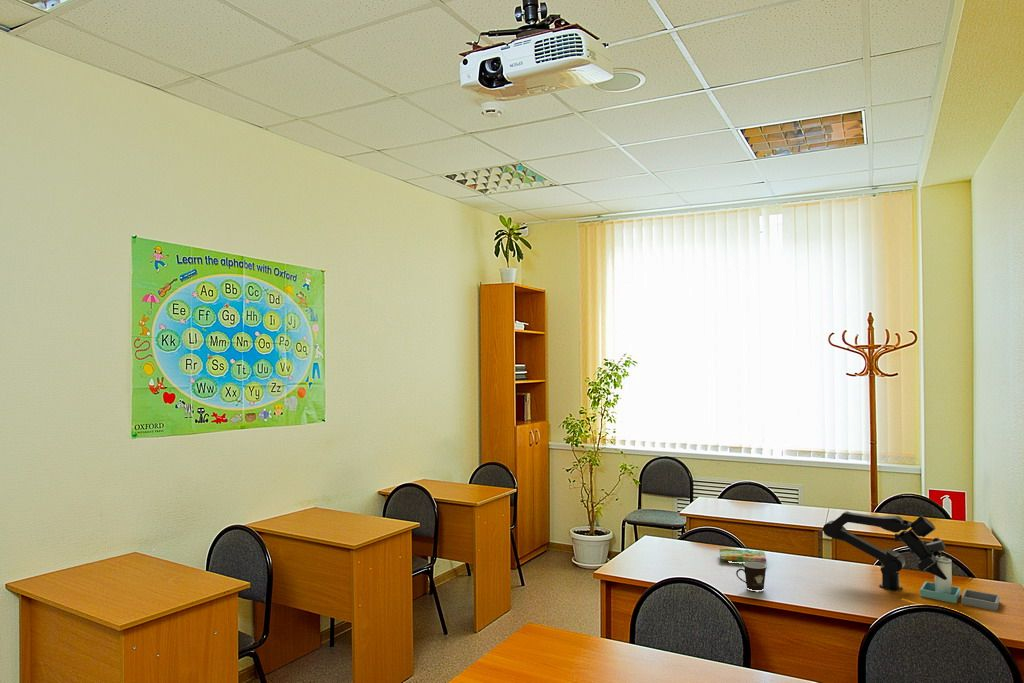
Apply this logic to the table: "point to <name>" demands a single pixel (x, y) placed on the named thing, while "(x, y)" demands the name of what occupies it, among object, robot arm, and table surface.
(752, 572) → the coffee mug
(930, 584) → the bin
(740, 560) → the puzzle game
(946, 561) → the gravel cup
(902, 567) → the robot arm
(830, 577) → the table surface
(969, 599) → the bin
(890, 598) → the table surface
